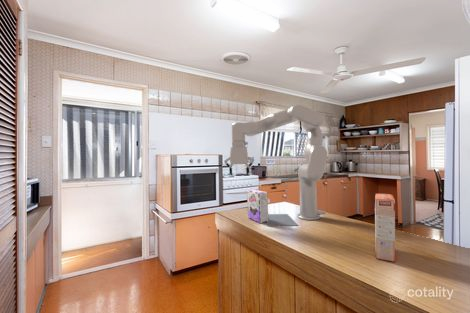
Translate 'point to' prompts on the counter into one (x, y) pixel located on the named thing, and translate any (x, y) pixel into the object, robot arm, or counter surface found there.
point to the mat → (280, 220)
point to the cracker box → (385, 227)
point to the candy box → (257, 205)
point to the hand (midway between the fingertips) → (239, 174)
